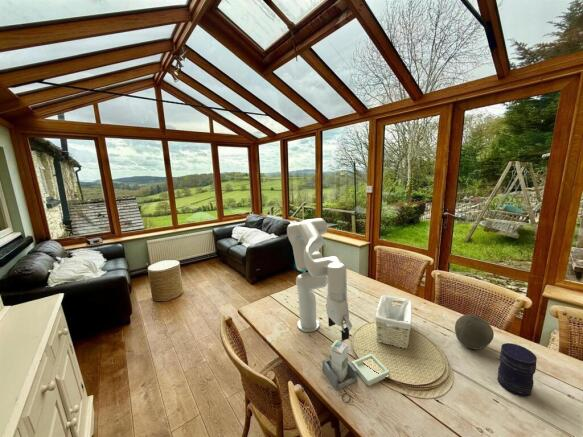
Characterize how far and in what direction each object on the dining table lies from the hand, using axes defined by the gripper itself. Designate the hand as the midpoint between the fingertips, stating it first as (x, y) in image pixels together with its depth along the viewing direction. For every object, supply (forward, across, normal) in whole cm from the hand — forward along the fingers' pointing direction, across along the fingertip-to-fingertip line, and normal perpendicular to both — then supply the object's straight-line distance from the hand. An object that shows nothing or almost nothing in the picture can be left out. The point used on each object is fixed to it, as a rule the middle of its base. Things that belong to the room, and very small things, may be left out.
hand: (338, 331), depth 96 cm
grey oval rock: (+21, +12, +66) cm, 70 cm away
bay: (+21, 0, 0) cm, 21 cm away
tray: (+21, +4, +13) cm, 25 cm away
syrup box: (+21, 0, 0) cm, 21 cm away
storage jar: (+22, +32, +58) cm, 70 cm away
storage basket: (+21, -11, +41) cm, 47 cm away
